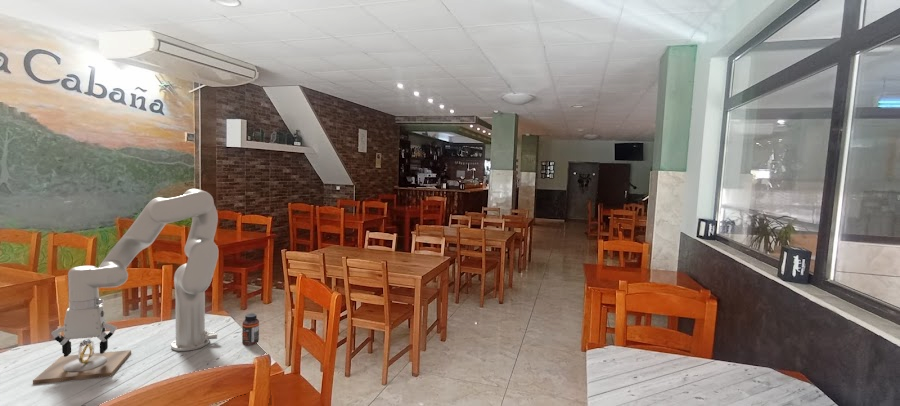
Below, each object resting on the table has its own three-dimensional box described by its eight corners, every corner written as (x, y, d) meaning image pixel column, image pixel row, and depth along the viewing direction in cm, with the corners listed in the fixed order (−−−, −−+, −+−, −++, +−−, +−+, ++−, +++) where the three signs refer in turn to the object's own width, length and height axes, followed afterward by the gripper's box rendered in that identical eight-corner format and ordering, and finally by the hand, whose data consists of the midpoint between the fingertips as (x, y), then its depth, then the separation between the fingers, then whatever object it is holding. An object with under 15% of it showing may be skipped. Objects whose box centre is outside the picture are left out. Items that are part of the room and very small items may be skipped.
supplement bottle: (238, 343, 164) (238, 315, 163) (251, 338, 170) (251, 311, 169) (250, 347, 162) (250, 318, 161) (262, 341, 168) (262, 313, 167)
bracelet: (85, 367, 138) (84, 344, 137) (73, 368, 137) (73, 344, 136) (98, 358, 144) (98, 335, 144) (88, 358, 144) (87, 335, 143)
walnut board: (131, 353, 152) (131, 349, 152) (111, 376, 136) (111, 371, 136) (61, 359, 145) (61, 355, 145) (32, 384, 129) (32, 379, 129)
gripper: (120, 298, 145) (121, 346, 147) (57, 301, 139) (58, 351, 141) (111, 305, 138) (112, 355, 140) (44, 309, 132) (46, 361, 134)
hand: (85, 353), depth 140 cm, fingers open, 9 cm apart
